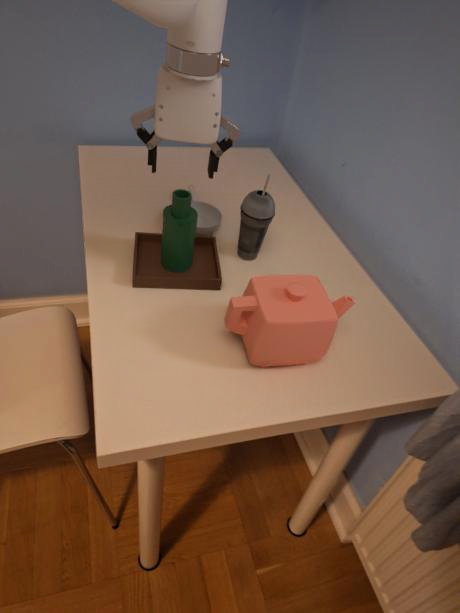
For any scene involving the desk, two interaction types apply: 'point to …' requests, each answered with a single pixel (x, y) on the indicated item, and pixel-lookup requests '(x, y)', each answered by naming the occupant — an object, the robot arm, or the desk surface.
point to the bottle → (178, 233)
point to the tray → (156, 276)
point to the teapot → (285, 319)
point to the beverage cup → (255, 222)
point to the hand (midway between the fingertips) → (182, 172)
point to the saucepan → (205, 215)
